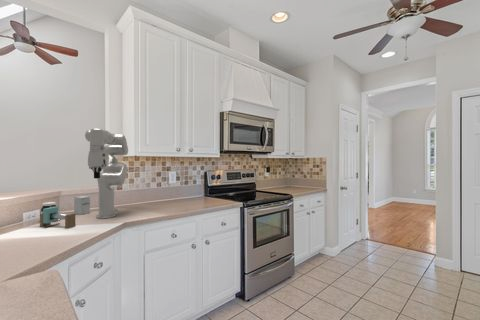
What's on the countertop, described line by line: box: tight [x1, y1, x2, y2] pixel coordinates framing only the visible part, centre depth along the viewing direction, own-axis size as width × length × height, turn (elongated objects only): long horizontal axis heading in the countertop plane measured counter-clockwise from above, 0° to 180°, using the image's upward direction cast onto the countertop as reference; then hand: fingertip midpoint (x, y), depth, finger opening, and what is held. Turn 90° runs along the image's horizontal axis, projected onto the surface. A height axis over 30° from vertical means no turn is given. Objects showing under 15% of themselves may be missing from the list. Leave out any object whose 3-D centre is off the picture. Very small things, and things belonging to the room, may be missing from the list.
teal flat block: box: [43, 206, 59, 223], centre depth 143 cm, size 3×7×8 cm, turn 170°
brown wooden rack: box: [39, 212, 76, 229], centre depth 142 cm, size 20×9×8 cm, turn 80°
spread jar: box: [40, 201, 62, 221], centre depth 156 cm, size 12×11×12 cm
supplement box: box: [73, 195, 91, 216], centre depth 176 cm, size 7×7×13 cm
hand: (96, 178), depth 145 cm, fingers closed
